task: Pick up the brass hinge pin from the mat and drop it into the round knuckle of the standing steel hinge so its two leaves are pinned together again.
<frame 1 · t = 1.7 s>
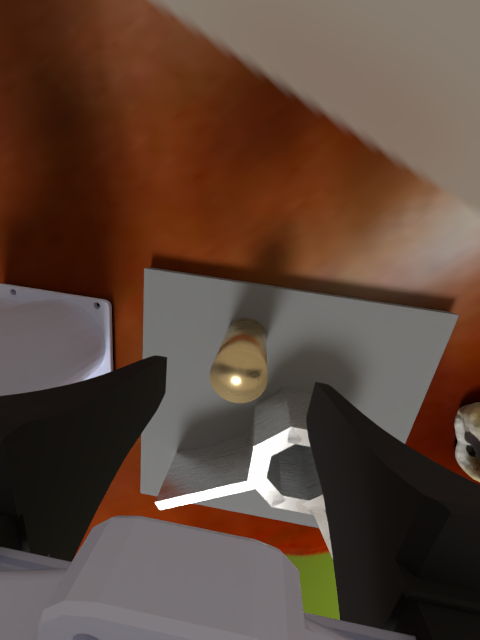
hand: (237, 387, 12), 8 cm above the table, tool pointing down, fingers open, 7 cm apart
mat: (269, 412, 21), on the table
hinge: (293, 425, 20), resting on mat
pin: (246, 337, 18), point 1 cm above the table, touching mat
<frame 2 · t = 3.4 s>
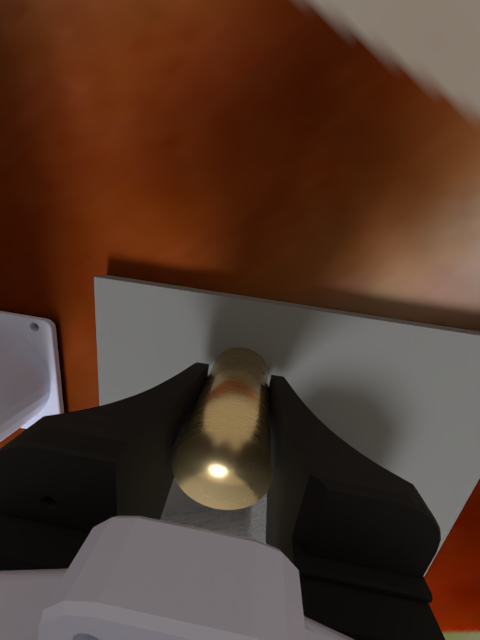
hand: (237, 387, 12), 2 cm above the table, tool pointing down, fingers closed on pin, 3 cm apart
mat: (272, 467, 16), on the table
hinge: (305, 487, 15), resting on mat
pin: (239, 373, 13), point 1 cm above the table, touching gripper, mat
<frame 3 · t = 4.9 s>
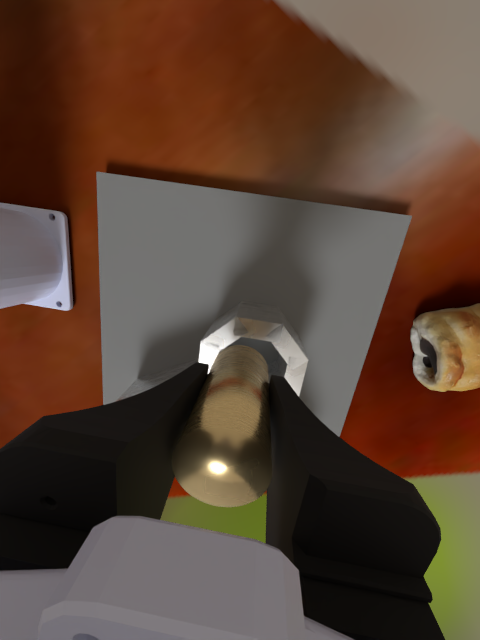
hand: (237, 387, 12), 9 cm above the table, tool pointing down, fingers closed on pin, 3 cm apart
mat: (230, 335, 21), on the table
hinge: (253, 344, 20), resting on mat
pastry: (457, 337, 20), on the table
pin: (240, 371, 13), point 8 cm above the table, touching gripper
when the fingers open (8 cm above the table, at t = 6.4 s): pin drops 6 cm, resting on mat.
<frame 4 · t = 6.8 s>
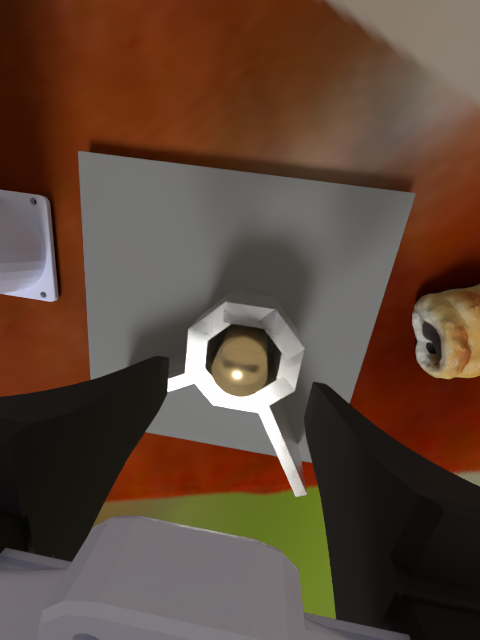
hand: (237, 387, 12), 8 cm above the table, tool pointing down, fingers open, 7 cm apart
mat: (223, 326, 20), on the table
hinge: (247, 334, 19), resting on mat
pastry: (462, 320, 18), on the table
pin: (247, 333, 19), point 1 cm above the table, touching mat
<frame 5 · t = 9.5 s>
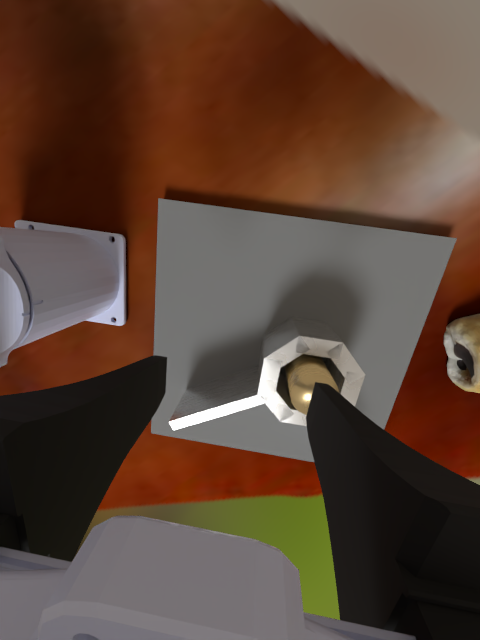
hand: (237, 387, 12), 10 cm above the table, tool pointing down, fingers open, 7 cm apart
mat: (276, 348, 22), on the table
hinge: (299, 356, 21), resting on mat
pin: (300, 355, 21), point 1 cm above the table, touching mat
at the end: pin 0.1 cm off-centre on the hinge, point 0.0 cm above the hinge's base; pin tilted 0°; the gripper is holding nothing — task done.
